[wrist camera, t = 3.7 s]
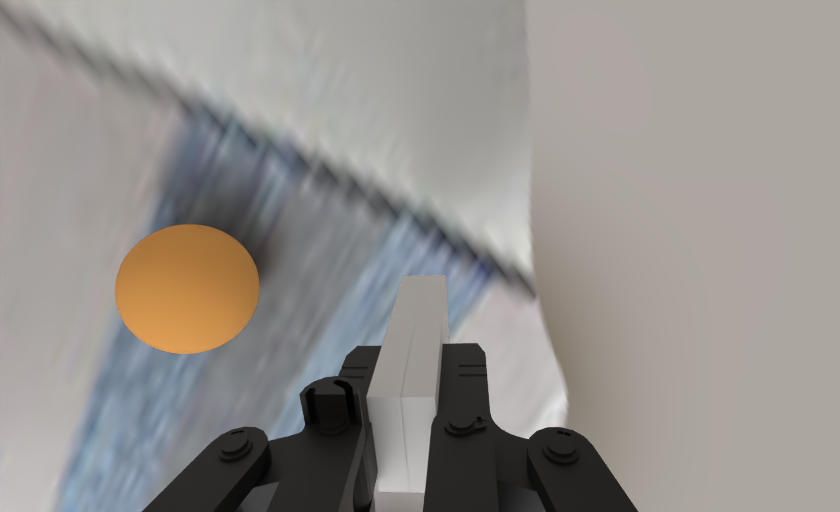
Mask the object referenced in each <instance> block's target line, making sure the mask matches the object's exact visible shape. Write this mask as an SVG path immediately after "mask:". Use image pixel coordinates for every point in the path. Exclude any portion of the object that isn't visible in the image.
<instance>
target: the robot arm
mask: <svg viewBox="0 0 840 512" xmlns="http://www.w3.org/2000/svg"><path fill="white" fill-rule="evenodd" d="M299 395H300V400H301V405H302V410H303V415H304V420H305V426H304V429H303V431H302V432H300V433H298V434H294V435H291V436H288V437H283V438H279V439H275V440H271V441H268V438H267V436H266V434H265V433H264V431H263V430H261V429H258V428H256V427H242V428H237V429H233V430H231V431H228V432H226V433H224V434H222V435H220V436H219V437H218V438H216V439H215V440H214V441H213V442H211V443H210V444H209V445H208V446H207V447H206V448H205V449H204V450H203V451H202V452H201V453H200V454H199V455H198V456H197V457H196V458H195V459H194V460H193V461H192V462H191V463H190V464H189V465H188V466H187V467H186V468H185V469H184V470H183V471H182V472H181V473H180V474H179V475H178V476H177V477H176V478H175V479H174V480H173V481H172V482H171V483H170V484H169V485H168V486H167V487H166V488H165V489H164V490H163V491H162V492H161V493H160V494H159V495H158V496H157V497H156V498H155V499H154V500H153V501H152V502H151V503H150V504H149V505H148V506H147V507H146V508H145V509H144V510H143V511H142V512H375V501H374V494H373V492H374V487H375V483H376V478H377V481H378V489H379V492H419V493H425V497H424V507H423V512H638V511H637V509H636V508H635V506H634V505H633V503H632V502H631V500H630V499H629V498H628V496H627V495H626V493H625V492H624V490H623V489H622V487H621V486H620V484H619V483H618V481H617V480H616V479H615V477H614V476H613V474H612V473H611V471H610V470H609V468H608V467H607V465H606V464H605V463H604V461H603V460H602V458H601V457H600V455H599V454H598V452H597V451H596V449H595V448H594V447H593V445H592V444H591V443H590V442H589V441H588V440H587V439H586V438H585V437H584V436H582V435H581V434H579V433H577V432H575V431H573V430H569V429H565V428H561V427H547V428H544V429H541V430H538V431H536V432H535V433H534V434H533V435H532V436H531V437H530V438H529V439H525V438H521V437H518V436H515V435H512V434H509V433H507V432H506V431H504V430H502V429H501V428H500V427H498V426H497V425H496V424H495V422H494V421H493V419H492V418H491V414H490V406H489V394H488V381H487V368H486V356H485V352H484V351H483V350H482V349H481V347H480V346H479V345H478V344H477V343H461V344H449V325H448V306H447V287H446V275H428V276H403V278H402V281H401V284H400V288H399V291H398V294H397V298H396V301H395V304H394V307H393V311H392V314H391V317H390V321H389V324H388V327H387V331H386V334H385V337H384V340H383V344H382V346H357V347H356V348H355V349H353V350H352V351H351V352H350V353H349V354H348V355H347V356H346V358H345V360H344V363H343V365H342V369H341V370H340V372H339V375H338V376H333V377H325V378H322V379H320V380H317V381H314V382H313V383H311V384H310V385H308V386H306V387H305V388H304V389H303V391H302V392H301V393H300V394H299Z"/></svg>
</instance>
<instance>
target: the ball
mask: <svg viewBox="0 0 840 512" xmlns="http://www.w3.org/2000/svg"><path fill="white" fill-rule="evenodd" d="M259 291H260V283H259V276H258V272H257V268H256V265H255V263H254V261H253V259H252V257H251V256H250V254H249V253H248V251H247V250H246V249H245V248H244V247H243V246H242V244H240V243H239V242H238V241H237V240H236V239H234V238H233V237H232V236H230V235H229V234H227V233H225V232H223V231H220V230H218V229H215V228H212V227H209V226H204V225H197V224H183V225H175V226H170V227H167V228H163V229H161V230H158V231H156V232H154V233H152V234H150V235H149V236H147V237H146V238H144V239H142V240H141V241H140V242H139V243H138V244H136V245H135V246H134V247H133V248H132V249H131V251H130V252H129V253H128V254H127V256H126V257H125V259H124V260H123V262H122V264H121V266H120V269H119V272H118V275H117V278H116V284H115V298H116V304H117V307H118V311H119V313H120V316H121V318H122V320H123V321H124V323H125V324H126V326H127V327H128V328H129V330H130V331H131V332H132V333H133V334H134V335H135V336H136V337H138V338H139V339H140V340H141V341H143V342H145V343H146V344H148V345H150V346H152V347H154V348H157V349H159V350H162V351H166V352H170V353H177V354H193V353H199V352H204V351H208V350H211V349H214V348H216V347H219V346H221V345H223V344H225V343H226V342H228V341H229V340H231V339H232V338H234V337H235V336H236V335H237V334H238V333H239V332H240V331H241V330H242V329H243V328H244V327H245V326H246V324H247V323H248V322H249V320H250V319H251V317H252V315H253V313H254V311H255V309H256V306H257V303H258V298H259Z"/></svg>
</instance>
